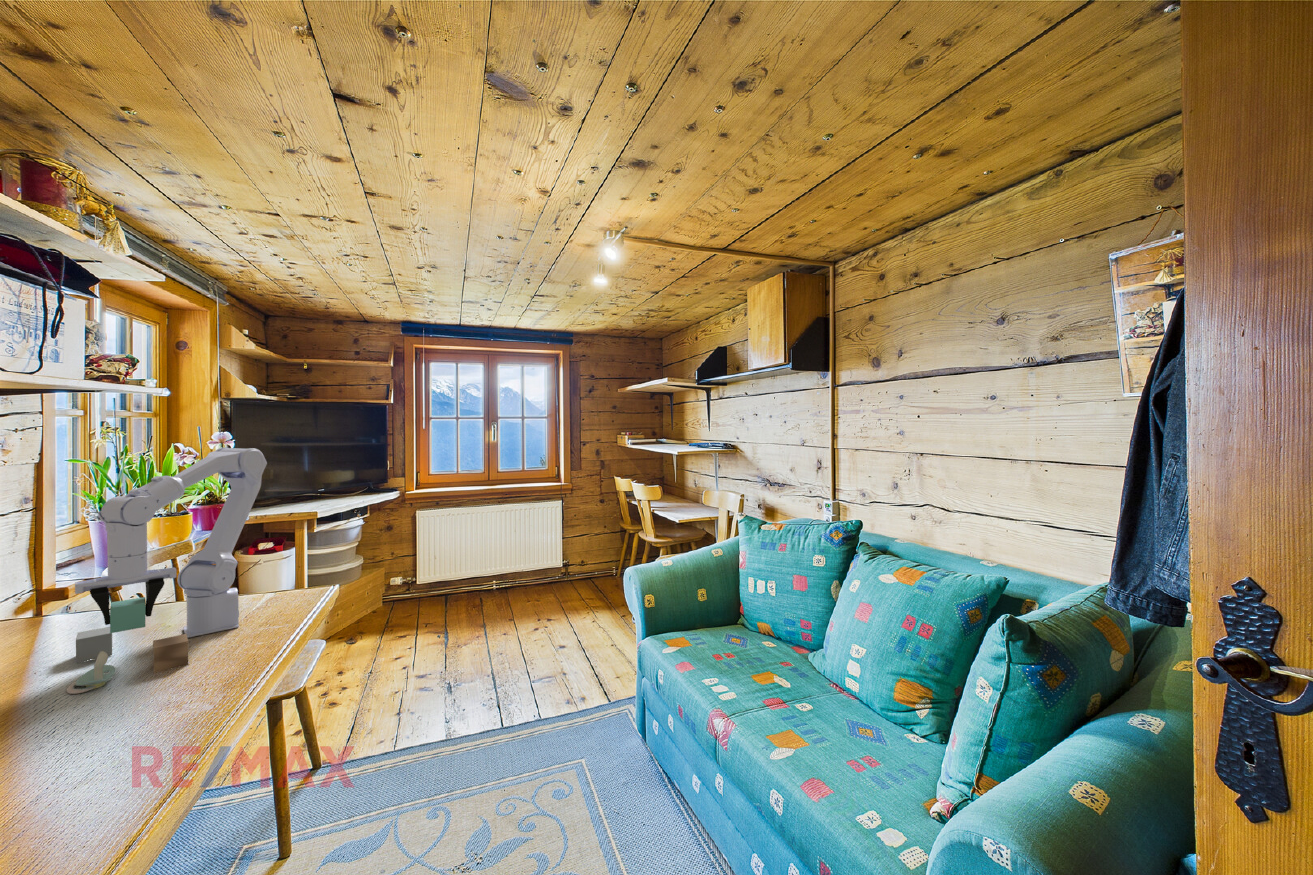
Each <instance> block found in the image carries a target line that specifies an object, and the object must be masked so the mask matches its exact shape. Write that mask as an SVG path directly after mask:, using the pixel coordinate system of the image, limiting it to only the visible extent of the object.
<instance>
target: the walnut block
mask: <svg viewBox="0 0 1313 875" xmlns="http://www.w3.org/2000/svg"><path fill="white" fill-rule="evenodd" d="M152 654H153V655H152V665H153V666H152V667H153V674H156V673H160V672H161V673H162V672H164V671H168V669H169V670H172V669H171V668H173V669H177V668H181V667H184V666H189V638H187V635H186V634H185V633H184V634H179V635H174V636H170V637H168V636H167V637H164V638H159V639H155V640H154V639H153V641H152Z"/></svg>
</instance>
